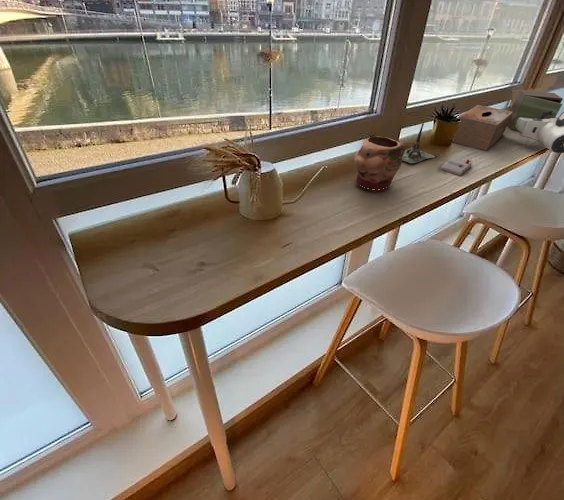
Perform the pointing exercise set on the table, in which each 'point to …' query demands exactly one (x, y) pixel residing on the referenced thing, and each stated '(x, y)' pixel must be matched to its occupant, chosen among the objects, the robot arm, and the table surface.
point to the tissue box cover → (482, 126)
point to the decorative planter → (378, 162)
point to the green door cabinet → (535, 94)
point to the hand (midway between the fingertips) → (539, 121)
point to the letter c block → (536, 109)
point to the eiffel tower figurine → (416, 151)
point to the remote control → (456, 166)
